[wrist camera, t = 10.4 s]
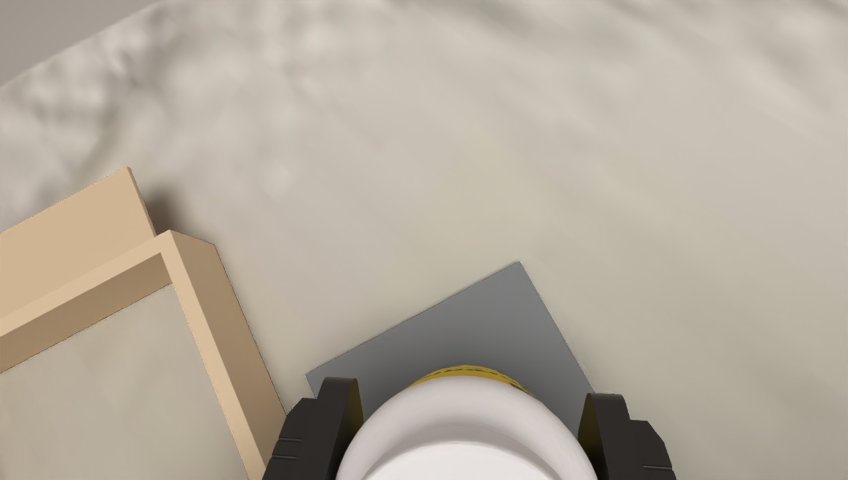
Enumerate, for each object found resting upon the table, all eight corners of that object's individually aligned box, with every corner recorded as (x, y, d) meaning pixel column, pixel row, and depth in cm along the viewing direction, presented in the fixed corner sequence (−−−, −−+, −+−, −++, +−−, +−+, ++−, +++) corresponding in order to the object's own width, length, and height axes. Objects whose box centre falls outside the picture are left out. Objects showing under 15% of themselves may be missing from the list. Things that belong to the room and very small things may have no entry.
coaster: (518, 263, 19) (519, 261, 18) (648, 492, 17) (654, 498, 16) (310, 373, 19) (304, 374, 18) (416, 614, 17) (414, 624, 16)
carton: (188, 183, 21) (140, 158, 18) (372, 619, 17) (350, 679, 14) (-62, 315, 21) (-150, 312, 18) (65, 781, 17) (-20, 874, 14)
